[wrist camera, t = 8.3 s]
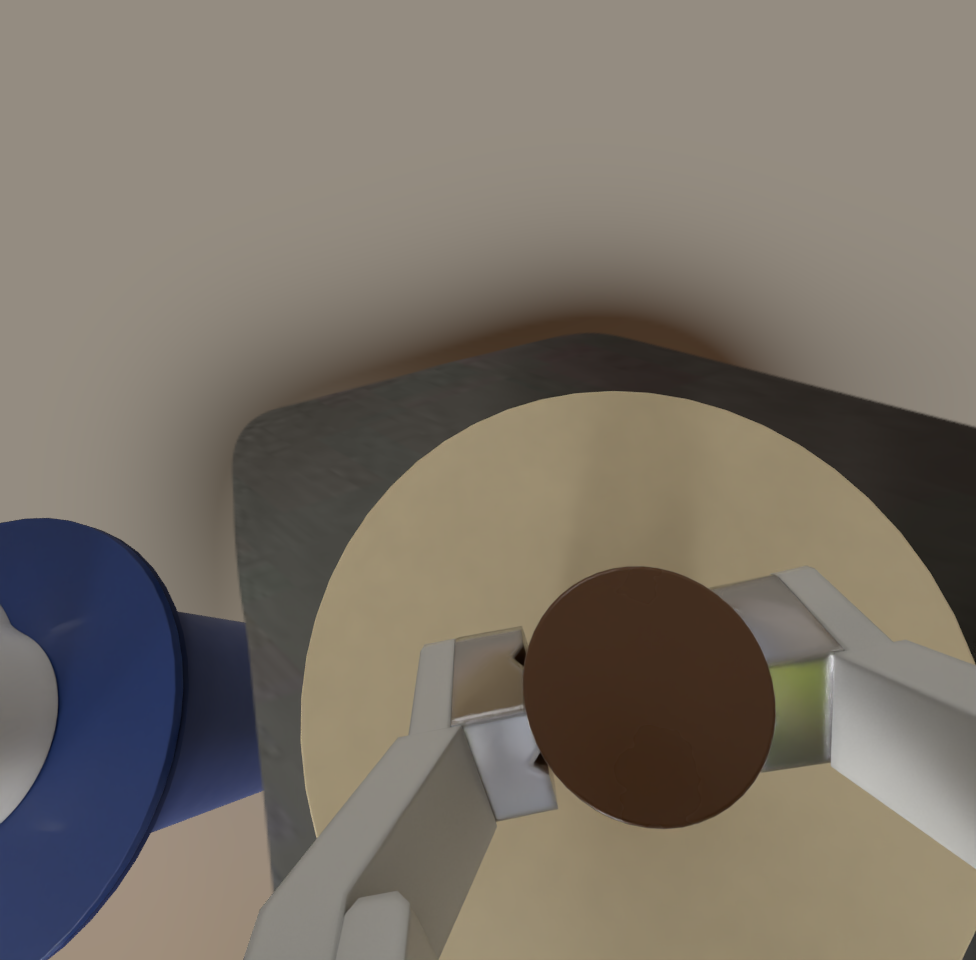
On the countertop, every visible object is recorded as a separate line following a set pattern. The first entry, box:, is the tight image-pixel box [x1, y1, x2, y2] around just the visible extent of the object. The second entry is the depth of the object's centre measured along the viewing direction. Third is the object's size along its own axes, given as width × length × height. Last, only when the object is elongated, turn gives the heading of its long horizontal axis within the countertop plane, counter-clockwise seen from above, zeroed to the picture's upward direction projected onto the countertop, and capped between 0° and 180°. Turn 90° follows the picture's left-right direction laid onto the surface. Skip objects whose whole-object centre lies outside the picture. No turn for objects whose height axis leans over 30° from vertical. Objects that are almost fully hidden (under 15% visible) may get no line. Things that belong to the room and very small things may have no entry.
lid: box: [301, 391, 976, 960], centre depth 8 cm, size 13×13×6 cm
